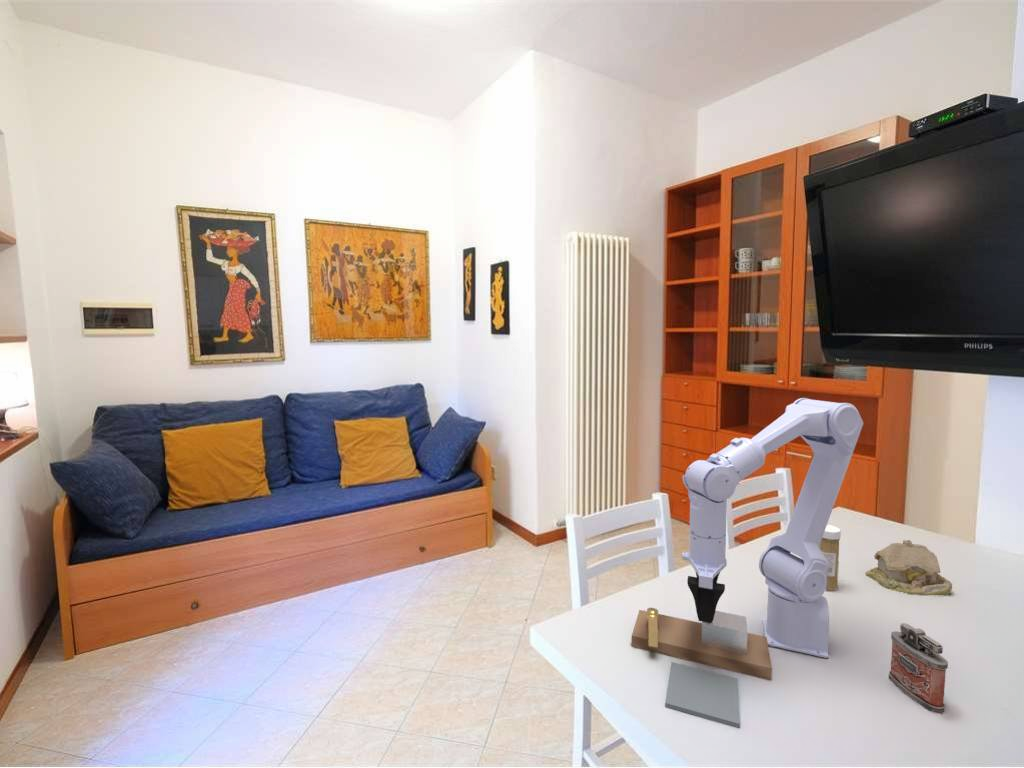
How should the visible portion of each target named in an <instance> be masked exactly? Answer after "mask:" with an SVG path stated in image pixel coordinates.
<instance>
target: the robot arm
mask: <svg viewBox="0 0 1024 768" xmlns="http://www.w3.org/2000/svg"><path fill="white" fill-rule="evenodd" d="M863 426H864V421H863V419H862V417H861V415H860V412H859V411H858V408H856V406H855V405H854V404H852V403H850V402H849V403H848V402H836V401H835V402H833V401H826V400H819V399H817V400H816V399H811V398H807V397H801V398H798V399H796V400H795V401H794V402H793V403H790V404H788V405H786V407H785V410H784V413H783V414H781V416H779V417H778V418H777V419H775V420H774V421H773V422H771V423H770V424H769V425H767V426H765V427H764V428H763V429H762V430H761V431H759V432H758V433H757V434H755V435H754V436H752V438H749V437H740V438H738V437H735V438H733V439H732V440H730V441H729V442H730V444H729V445H726V447H724V448H722V449H721V450H720V451H717V452H716V453H712V454H711V455H709V458H707V459H706V460H704V459H698V460H695V461H692V463H691V464H690V465H689V466H688V467H687V468H686V470H685V474H684V475H682V483H683V485H684V487H685V488H686V489H687V491H688V499H689V542H688V543H689V544H688V546H689V547H688V551H682V553H681V559H682V560H684V561H687V562H689V563H690V566H691V567H692V568H693V569H694V572H695V575H696V576H691V575H688V576H687V580H686V581H687V587H688V589H689V590H690V591H691V595H692V596H693V600H694V604H695V610H696V616H697V619H698V621H699V622H702V621H703V622H707V623H712V622H713V619H714V615H715V611H717V606H718V602H719V600H720V599H721V597H722V595H723V594H724V592H725V590H726V585H725V583H720V582H719V583H718V579H719V576H720V574H721V572H722V571H723V570H724V569H725V568H726V567H727V564H728V562H727V558H726V552H727V551H726V549H727V548H726V541H727V507H728V506H727V500H728V499H730V498H731V497H732V496H733V495H734V493H735V491H736V487H737V486H738V485H740V483H741V482H742V480H743V479H745V478H747V477H748V476H749V475H751V474H753V473H754V472H756V471H757V470H759V469H760V468H762V467H763V466H764V465H765V463H766V462H765V461H766V455H768V454H771V453H772V452H774V451H776V450H777V449H779V448H781V447H783V446H784V445H786V444H788V443H790V442H791V441H794V440H795V439H796V438H799V437H800V438H801V439H803V441H805V443H806V444H807V445H809V446H810V448H811V451H812V452H813V457H812V458H811V462H810V465H809V468H808V470H807V473H806V475H805V479H804V481H803V484H802V487H801V490H800V493H799V495H798V498H797V501H796V504H795V506H794V509H793V510H792V511H793V512H792V515H791V516H790V521H789V522H788V525H787V528H786V530H785V532H784V533H783V534H781V535H778V536H777V535H776V536H774V537H772V538H771V539H770V542H769V544H768V546H767V547H766V549H765V550H764V551H763V552H762V553H761V555H760V557H759V561H758V568H759V571H760V573H761V575H762V576H763V577H764V578H765V584H766V585H767V606H766V607H767V610H766V611H767V612H766V613H767V614H766V619H762V627H763V636H765V637H767V642H768V647H769V646H770V647H773V648H774V647H775V648H779V649H784V650H789V651H793V652H798V653H803V654H807V655H813V656H816V657H821V658H825V659H827V658H829V639H830V638H829V634H830V610H829V603H828V600H827V598H826V597H825V596H823V595H824V593H825V591H826V590H825V589H826V586H827V571H828V568H829V563H828V561H827V559H826V558H825V556H824V555H823V553H822V551H821V550H820V548H819V545H820V543H821V540H822V537H823V534H824V532H825V529H826V526H827V525H828V524H829V523H828V522H829V521H830V518H831V515H832V512H833V509H834V508H835V507H834V506H835V504H836V500H837V498H838V495H839V493H840V489H841V487H842V484H843V481H844V479H845V476H846V473H847V471H848V467H849V465H850V462H851V460H852V457H853V454H854V450H855V449H856V448H855V447H856V445H857V442H858V441H859V440H858V439H859V437H860V434H861V431H862V429H863Z"/></svg>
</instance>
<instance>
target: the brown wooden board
mask: <svg viewBox="0 0 1024 768" xmlns="http://www.w3.org/2000/svg"><path fill="white" fill-rule="evenodd" d="M631 633H632V634H631V647H633V648H637V649H641V650H645V651H650V652H654V653H657V654H662V655H666V656H669V657H675V658H678V659H683V660H685V661H691V662H696V663H699V664H703V665H707V666H709V667H716V668H718V669H723V670H726V671H732V672H736V673H740V674H744V675H747V676H748V675H749V676H752V677H756V678H761V679H764V680H769V681H772V673H773V672H772V671H773V670H772V668H773V667H772V663H771V662H772V660H771V655H770V649H769V645H768V642H767V637H765V635H761V634H755V633H751V632H748V633H747V655H743V654H739V653H734V652H730V651H725V650H721V649H717V648H712V647H708V646H704V645H701V644H702V622H700V621H699V622H698V621H694V620H689V619H683V618H680V617H675V616H671V615H670V616H669V615H665V614H661V613H658V647H651V646H648V626H647V610H641V609H639V610H638V614H637V617H636V620H635V623H634V627H633V630H632V632H631Z"/></svg>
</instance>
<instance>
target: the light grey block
mask: <svg viewBox="0 0 1024 768" xmlns="http://www.w3.org/2000/svg"><path fill="white" fill-rule="evenodd" d="M701 623H702V644H701V645H704V646H708V647H712V648H717V649H721V650H725V651H730V652H734V653H739V654H743V655H747V633H749V632H748V624H747V617H746V616H744V615H740V614H736V613H735V614H733V613H731V612H725V611H719V610H716V611H715V615H714V619H713V622H712V623H707V622H703V621H701Z"/></svg>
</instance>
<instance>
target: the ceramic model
mask: <svg viewBox="0 0 1024 768" xmlns="http://www.w3.org/2000/svg"><path fill="white" fill-rule="evenodd" d="M873 557H874V559H875V560H877V567H874V568H870V570H867V571H865V575H866V576H867V577H868V578H871V579H872V580H874V581H875V582H876V581H877V582H876V583H878V584H879V585H880V586H881V587H884V588H885V589H889V590H890V589H891V591H894V590H895V591H894V592H897V591H898V592H897V593H901V592H903V593H902V594H905V593H907V594H906V595H913V594H920V595H919V596H928V595H944V596H946V595H945V594H948V595H949V594H950V593H951V591H952V589H953V583H952V581H950V580H948V579H947V578H945V577H944V576H942V574H941V569H940V568H941V567H940V564H939V560H938V558H937V556H936V554H935V552H933V551H931V550H930V549H929V548H928V547H927V546H925V545H922V544H916V543H913V542H912V541H911V540H905V539H903V540H902V543H901V542H893V543H892V542H891V543H889V545H887V546H886V547H884V548H883V549H880V550H878V551H876V552H875V554H874V556H873Z"/></svg>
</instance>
